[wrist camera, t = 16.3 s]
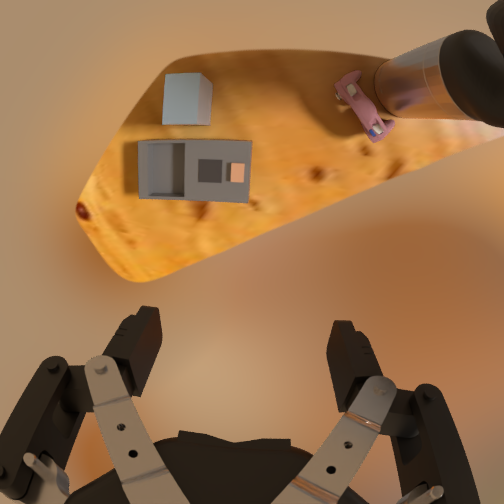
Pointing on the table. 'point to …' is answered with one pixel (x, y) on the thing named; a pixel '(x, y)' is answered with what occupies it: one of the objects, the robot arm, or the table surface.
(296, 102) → the table surface
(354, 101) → the pink curved toy
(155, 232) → the table surface
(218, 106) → the table surface
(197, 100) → the block
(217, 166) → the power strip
